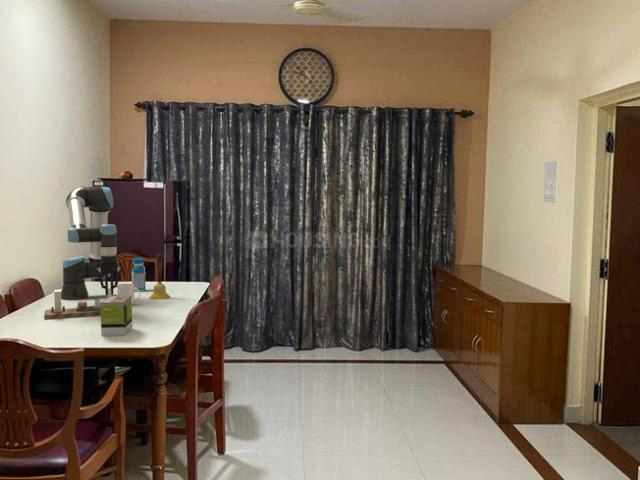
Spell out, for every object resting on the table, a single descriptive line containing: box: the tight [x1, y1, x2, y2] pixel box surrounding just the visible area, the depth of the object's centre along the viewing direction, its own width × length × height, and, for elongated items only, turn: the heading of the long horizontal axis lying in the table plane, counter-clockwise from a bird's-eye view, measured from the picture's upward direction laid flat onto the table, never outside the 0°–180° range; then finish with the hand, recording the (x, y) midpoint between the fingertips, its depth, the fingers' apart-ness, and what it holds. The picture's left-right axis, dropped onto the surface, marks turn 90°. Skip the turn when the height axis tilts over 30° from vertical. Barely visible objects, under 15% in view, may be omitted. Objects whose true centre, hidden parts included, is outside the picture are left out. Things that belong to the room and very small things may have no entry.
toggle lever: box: [53, 289, 62, 311], centre depth 290 cm, size 3×1×11 cm, turn 113°
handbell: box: [148, 254, 171, 300], centre depth 345 cm, size 12×12×25 cm
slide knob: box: [93, 298, 101, 308], centre depth 299 cm, size 4×4×5 cm
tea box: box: [100, 295, 133, 337], centre depth 259 cm, size 15×10×15 cm
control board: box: [43, 305, 101, 320], centre depth 297 cm, size 36×14×4 cm, turn 113°
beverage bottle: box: [131, 257, 147, 292], centre depth 370 cm, size 8×8×20 cm
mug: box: [116, 283, 141, 306], centre depth 324 cm, size 9×12×11 cm
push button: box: [76, 301, 88, 307], centre depth 296 cm, size 4×4×2 cm
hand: (109, 301), depth 302 cm, fingers closed
